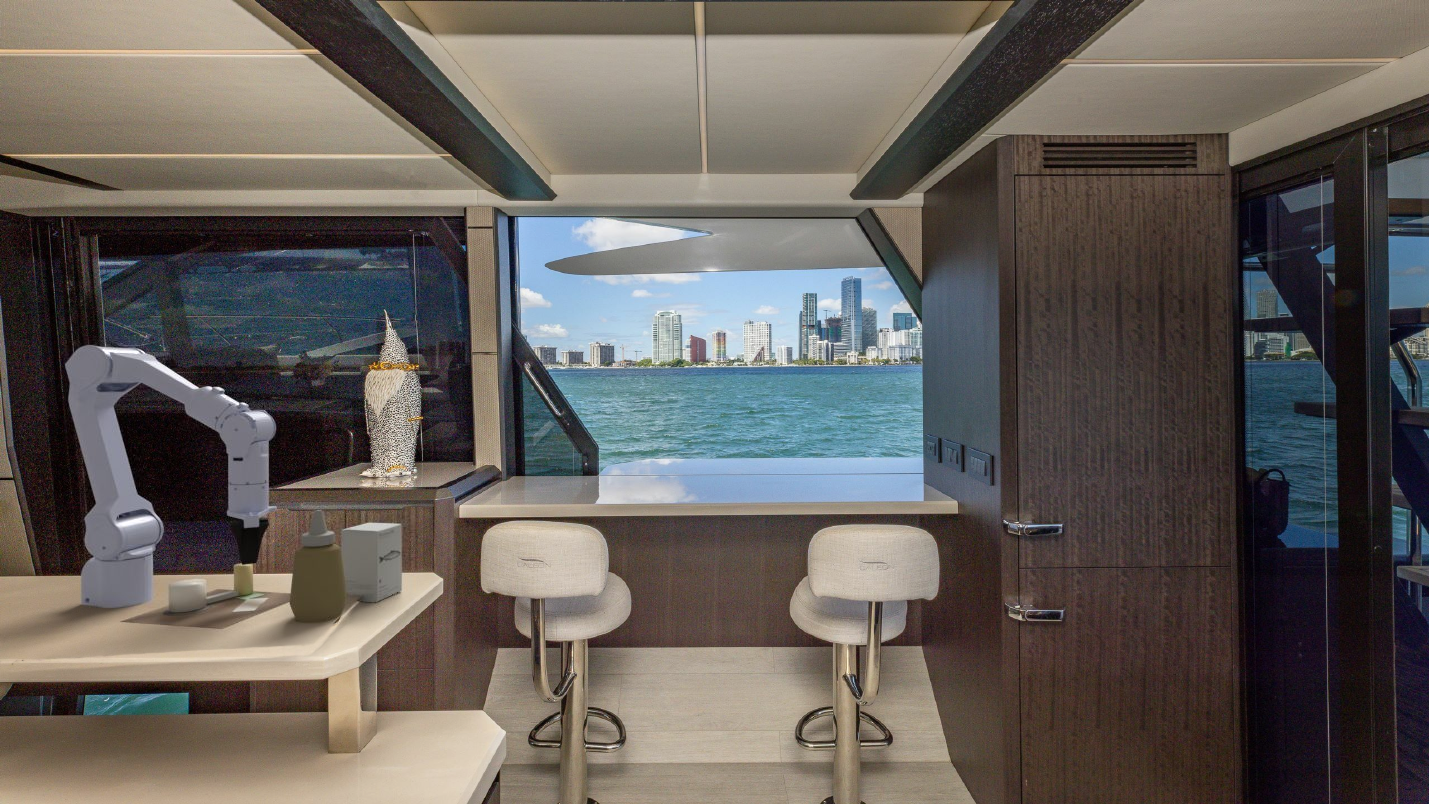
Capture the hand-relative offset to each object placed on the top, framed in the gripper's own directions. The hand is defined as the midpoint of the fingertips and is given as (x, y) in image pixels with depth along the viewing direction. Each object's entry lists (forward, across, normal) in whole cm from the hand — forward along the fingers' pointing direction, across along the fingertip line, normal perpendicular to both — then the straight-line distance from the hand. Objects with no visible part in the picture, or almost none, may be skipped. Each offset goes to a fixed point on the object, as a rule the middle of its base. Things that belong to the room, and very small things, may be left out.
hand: (249, 563), depth 123 cm
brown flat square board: (+8, 0, +4) cm, 9 cm away
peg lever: (+6, +3, +5) cm, 8 cm away
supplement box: (+8, -3, -18) cm, 20 cm away
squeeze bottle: (+8, -15, -9) cm, 19 cm away
